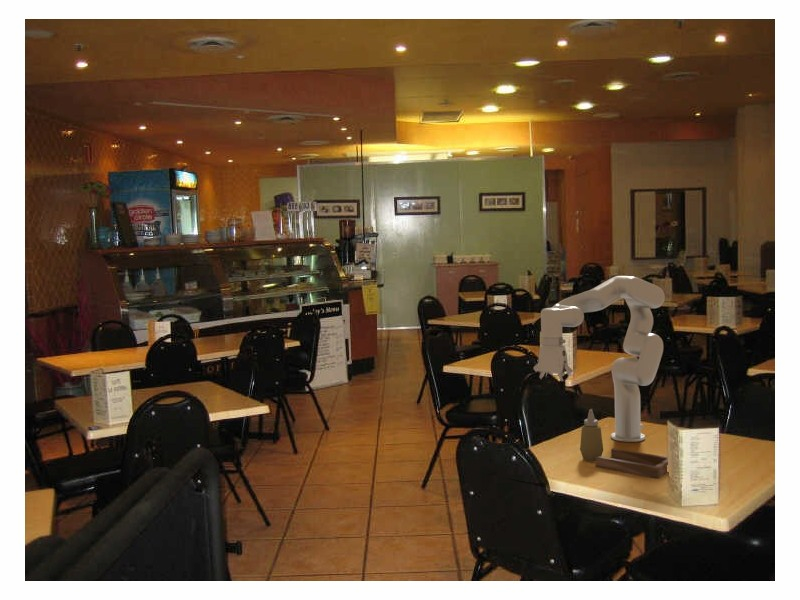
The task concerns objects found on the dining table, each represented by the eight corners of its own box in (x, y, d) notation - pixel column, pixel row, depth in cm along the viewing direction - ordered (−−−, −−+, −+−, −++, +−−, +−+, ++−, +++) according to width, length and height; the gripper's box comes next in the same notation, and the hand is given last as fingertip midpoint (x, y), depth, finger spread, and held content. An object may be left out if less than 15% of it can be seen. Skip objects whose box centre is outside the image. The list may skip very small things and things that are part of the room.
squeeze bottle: (604, 463, 262) (603, 412, 261) (580, 463, 264) (579, 412, 262) (602, 456, 270) (601, 407, 269) (579, 456, 272) (578, 407, 270)
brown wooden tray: (613, 457, 269) (613, 448, 268) (674, 468, 254) (674, 458, 254) (595, 466, 259) (595, 456, 259) (657, 478, 244) (657, 468, 244)
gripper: (578, 342, 271) (579, 390, 272) (537, 339, 282) (538, 386, 284) (568, 344, 265) (569, 394, 267) (526, 341, 277) (527, 389, 278)
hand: (553, 389), depth 275 cm, fingers open, 6 cm apart
